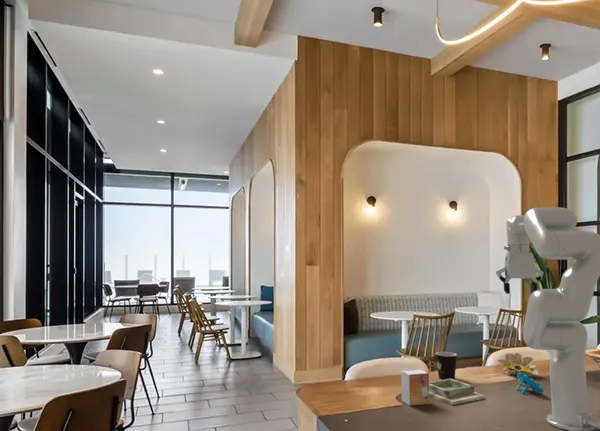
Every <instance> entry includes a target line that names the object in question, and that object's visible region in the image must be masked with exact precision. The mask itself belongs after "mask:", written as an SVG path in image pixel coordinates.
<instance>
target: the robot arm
mask: <svg viewBox="0 0 600 431" xmlns="http://www.w3.org/2000/svg"><path fill="white" fill-rule="evenodd" d="M577 223H578V218H577V215H576V214H575V213H574V211H572V210H571V209H569V208H566V207H561V206H560V207H558V206H557V207H554V206H553V207H533V208H530V209H528V210H527V211H526V212H525V214H523V215H522V214H521V215H520V214H519V215H514V216H512V217H510V218H507V220H506V237H507V238H506V239H507V244H506V245H505V246H503V250H506V251H507V252H506V253H505V259H504V267H503V268H501V269H499V270H497V271H495V274H496V275H497V278H498V280H500V281H501V282H502V283H503V291H504V292H505V294H508V295H509V294H511V286H510V280H512V279H529V281H531V282H530V293H531V294H530V296H529V297H528V302H527V305H526V312H525V315H524V316H525V317H524V322H523V327H522V328H523V330H522V336H523V337H522V338H523V341H524V343H525V345H526V346H527V347H529V348H530V349H532V350H538V351H539V350H542V351H554V353H553V354H552V355H551V357H550V360H549V381H550V385H549V386H550V398H551V400H550V402H551V413H550V414H547V415H546V421H547V423H548V424H550V425H551V426H553V427H556V428H558V429H562V430H565V431H595V430H596V429H598V430H600V419H598V418H594V417H593V412H592V411H589V406H588V405H589V404H588V389H587V373H586V352H587V351H586V350H587V343H588V331H587V329H586V327H585V325H584V324H583V323H582V322H580V321H583V320H584V319H586V317H587V316H588V313H589V311H590V308H591V303H592V301H593V300H592V299H593V297H594V292H595V288H596V284H597V282H598V280H599V278H600V234H599V233H597V232H594V231H587V230H574V229H575V228H576V226H577ZM530 242H531V244H532V246H533V248H534V249H535V251H536V253H537V254H538V256H539V257H541V258H543V259H545V260H576V261H575V262H573V263H572V264H571V265H570V266H569V267H568V268H567V269H566V270H565V271H564V272H563V273H562V276H561V279H560V284H559V286H558V287H556V288H542V289H540V288H538V283H539V282H540V281H541V280H542V278H543V276H544V271H542V269H541V270H540V269H539V268H536V265H535V264H536V263H535V260H534V255H533V253H532V252H530ZM503 273H504V276H505V277H504V276H503V275H502V274H503Z"/></svg>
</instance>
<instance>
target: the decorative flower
mask: <svg viewBox="0 0 600 431" xmlns="http://www.w3.org/2000/svg"><path fill="white" fill-rule="evenodd" d="M504 358H505V359H497V362H498V363H501V365H502V366H503V367H504V368H503V369H502V371H503V372H504V371H505V375H507V376H509V375H514V374H515V375H517V374H518V373H522V374H523V375H525V374H526V375H527V376H528V377H533V376H534V375H537V376H538V375H539V371H538V370H537V369H535V368H536V365H535V364H532V363H533V362H534V358H533V357H530V356H525V357H523V356H522V355H521V354H520V353H519V352H515V353H506V354H505V357H504Z"/></svg>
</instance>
